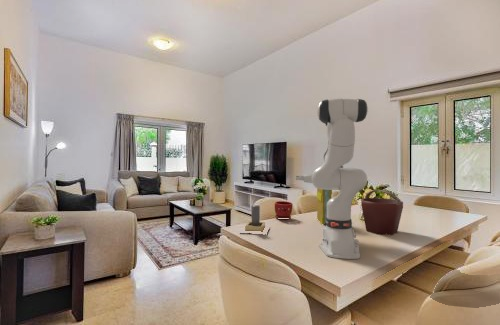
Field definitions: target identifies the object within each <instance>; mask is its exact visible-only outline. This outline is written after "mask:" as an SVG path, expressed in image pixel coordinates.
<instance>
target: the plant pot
mask: <svg viewBox="0 0 500 325" xmlns="http://www.w3.org/2000/svg"><path fill="white" fill-rule="evenodd" d="M274 212H275V216H274V217H275V219H277V218H290V219H292V216H291V215H292V212H293V202H290V201H281V200H280V201H274Z"/></svg>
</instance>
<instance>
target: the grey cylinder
mask: <svg viewBox="0 0 500 325" xmlns="http://www.w3.org/2000/svg"><path fill="white" fill-rule="evenodd" d="M260 206H261V205H258V204H257V205H256V204H253V205H251V207H250V210H251V216H250V217H251V221H250V222H251V226H260V222H261V220H260V219H261V218H260V217H261V215H260V214H261V208H260Z"/></svg>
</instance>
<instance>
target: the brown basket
mask: <svg viewBox="0 0 500 325" xmlns="http://www.w3.org/2000/svg"><path fill="white" fill-rule="evenodd" d="M375 192H381V193H384V194H387V195H388V196H390V198H381V197H370V196H371V195H372V194H373V193H375ZM360 201H361V206H360V207H361V210H362V214H363V221H364V226H365V231H366V232H368V233H372V234H375V235H381V236H383V235H384V236H393V235H395V234H397V233H398V231H399V226H400V222H401V218H402V213H403V208H404V201H402V200H401V199H400V198H399V197H397V195H395V194H394V192H393V193H392V192H390V191H388V190H384V189H373V190H370V191H368V192H367V193H366V194H365V195H364V197H362V198H361V200H360Z"/></svg>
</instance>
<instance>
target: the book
mask: <svg viewBox="0 0 500 325" xmlns="http://www.w3.org/2000/svg"><path fill="white" fill-rule="evenodd" d="M332 195H333V190H324V189H319V188H316V209H317V210H316V220H317V219H318V220H319V221H320V222H319V221H318V220H317V221H318V222H319V224H320V225H322V224H325V225H326V217H327V202H328V201H329V200H330V199H331V198H332Z"/></svg>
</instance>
